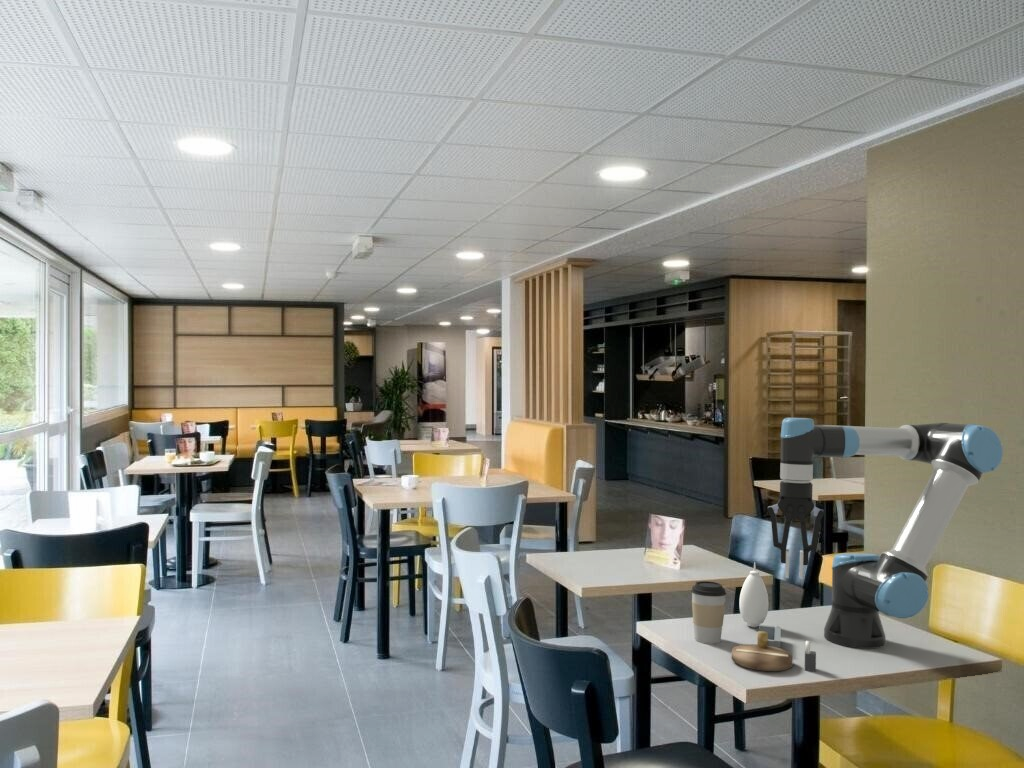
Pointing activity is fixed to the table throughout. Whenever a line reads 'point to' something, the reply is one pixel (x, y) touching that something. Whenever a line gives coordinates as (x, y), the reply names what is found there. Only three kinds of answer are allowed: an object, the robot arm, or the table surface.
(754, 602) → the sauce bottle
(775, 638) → the pocket stop
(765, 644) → the disc
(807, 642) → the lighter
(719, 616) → the coffee cup
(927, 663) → the table surface
